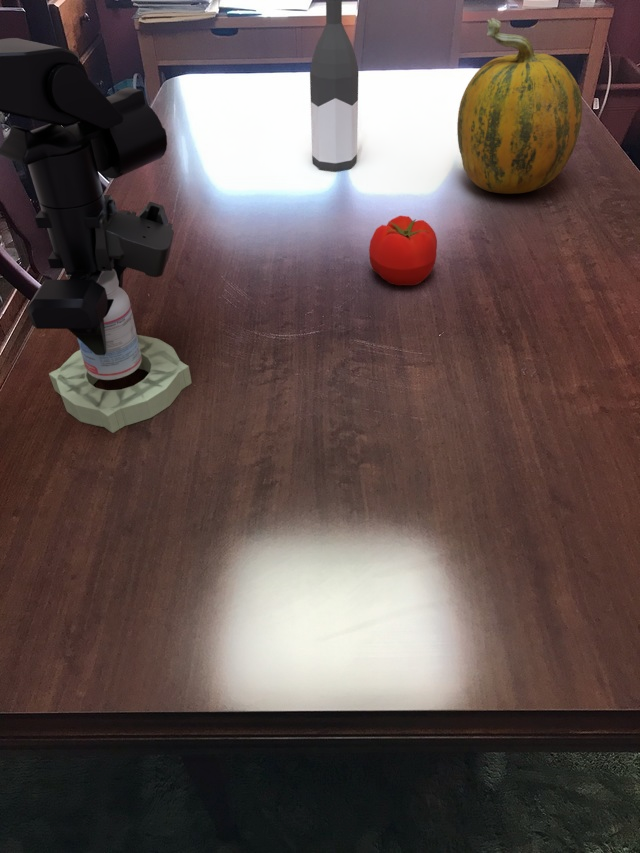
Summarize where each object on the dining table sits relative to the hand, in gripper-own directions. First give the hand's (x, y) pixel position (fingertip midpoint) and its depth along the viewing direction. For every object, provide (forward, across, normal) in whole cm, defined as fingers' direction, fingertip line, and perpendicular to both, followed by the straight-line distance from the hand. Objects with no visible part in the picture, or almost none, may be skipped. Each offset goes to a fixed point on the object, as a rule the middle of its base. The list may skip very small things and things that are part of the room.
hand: (108, 336), depth 74 cm
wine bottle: (+7, +64, -24) cm, 68 cm away
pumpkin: (+7, +54, -53) cm, 76 cm away
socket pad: (+7, 0, 0) cm, 7 cm away
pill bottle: (+4, 0, 0) cm, 4 cm away
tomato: (+7, +24, -34) cm, 42 cm away
